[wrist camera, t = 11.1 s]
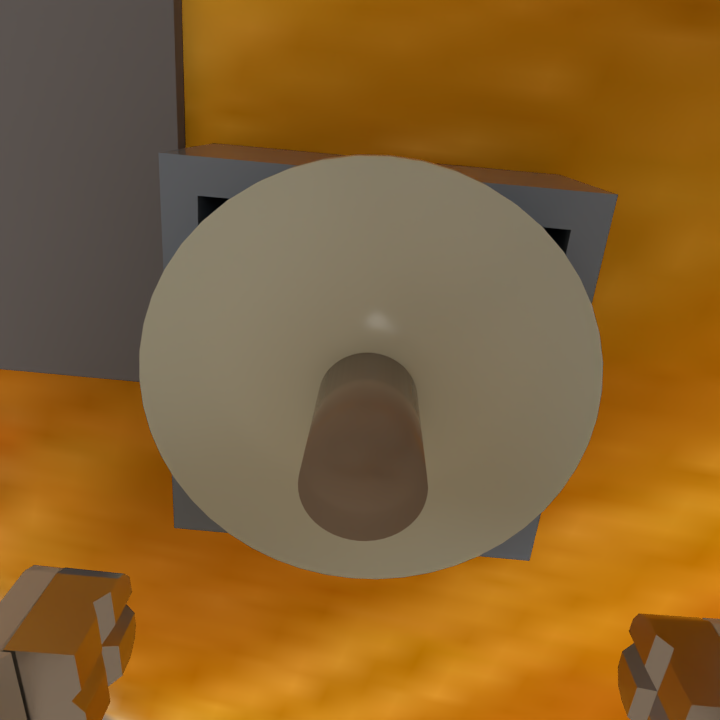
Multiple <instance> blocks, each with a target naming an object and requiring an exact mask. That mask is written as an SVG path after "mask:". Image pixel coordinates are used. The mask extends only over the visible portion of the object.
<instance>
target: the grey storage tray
mask: <svg viewBox="0 0 720 720" xmlns="http://www.w3.org/2000/svg"><path fill="white" fill-rule="evenodd" d="M338 156H347V155H337V154H326V153H315V152H304V151H293V150H282V149H271V148H260V147H249V146H238V145H227V144H216V143H213V144H207V145H201V146H195V147H189V148H183V149H177V150H172V151H166V152H160V153H159V177H160V201H161V224H162V248H163V271H164V269H165V268H166V266H167V265H168V263H169V262H170V260H171V259H172V257H173V256H174V254H175V253H176V251H177V250H178V248H179V247H180V245H181V244H182V243H183V242H184V241H185V240H186V238H187V237H188V236H189V235H190V234H191V233H192V232H193V231H194V230H195V229H196V227H197V226H198V225H199V224H200V223H201V222H202V221H203V220H204V219H205V218H207V217H208V216H209V215H210V214H211V213H213V212H214V211H215V210H216V209H217V208H219V207H220V206H221V205H222V204H224V203H225V202H226V201H227V200H229V199H230V198H232V197H234V196H235V195H237V194H239V193H240V192H242V191H244V190H245V189H247V188H249V187H250V186H252V185H254V184H255V183H257V182H259V181H261V180H263V179H265V178H267V177H270V176H272V175H274V174H277V173H279V172H281V171H284V170H286V169H288V168H291V167H293V166H297V165H301V164H305V163H308V162H312V161H316V160H319V159H323V158H330V157H338ZM438 165H441V166H444V167H448V168H451V169H454V170H456V171H459V172H461V173H463V174H465V175H467V176H469V177H472V178H474V179H476V180H478V181H480V182H482V183H484V184H486V185H487V186H489V187H490V188H492V189H493V190H495V191H497V192H498V193H500V194H501V195H503V196H504V197H506V198H507V199H509V200H510V201H512V202H513V203H515V204H516V205H518V206H519V207H520V208H521V209H522V210H523V211H525V212H526V213H527V214H528V215H529V216H530V217H532V218H533V219H534V220H535V221H536V222H537V223H538V224H540V225H541V226H542V227H543V228H544V229H545V231H546V232H547V233H548V234H549V235H550V236H551V238H552V239H553V240H554V241H555V242H556V243H557V245H558V246H559V247H560V248H561V249H562V250H563V252H564V253H565V255H566V256H567V258H568V260H569V261H570V263H571V264H572V266H573V268H574V269H575V271H576V272H577V274H578V276H579V277H580V279H581V281H582V284H583V286H584V288H585V291H586V293H587V295H588V297H589V300H590V302H591V304H592V300H593V296H594V292H595V288H596V283H597V279H598V275H599V271H600V267H601V263H602V259H603V255H604V250H605V246H606V242H607V238H608V234H609V230H610V226H611V222H612V217H613V213H614V209H615V205H616V201H617V197H618V195H617V194H614V193H612V192H609V191H606V190H603V189H600V188H597V187H594V186H591V185H588V184H585V183H582V182H579V181H577V180H574V179H571V178H568V177H565V176H562V175H556V174H545V173H534V172H523V171H512V170H501V169H490V168H479V167H468V166H457V165H446V164H438ZM172 484H173V507H174V528H182V529H192V530H203V531H214V532H225V533H228V532H227V531H225V530H224V529H223V528H222V527H220V526H219V525H218V524H217V523H215V522H214V521H213V520H212V519H210V518H209V517H208V516H207V515H206V514H205V513H204V512H203V511H202V510H201V509H200V508H199V507H198V506H197V505H196V504H195V503H194V502H193V501H192V500H191V499H190V497H189V496H188V495H187V494H186V492H185V491H184V490H183V488H182V487H181V486H180V485H179V483H178V482H177V481H176V480H175V478H174V477H173V475H172ZM540 515H541V513H540V514H539V515H538V516H537V517H536V518H535V519H534V520H533V521H531V522H530V523H529V524H528V525H527V526H526V527H525V528H524V529H522V530H521V531H519V532H518V533H516V534H515V535H513V536H512V537H511V538H509V539H508V540H506V541H505V542H503V543H502V544H500V545H498V546H496V547H495V548H493V549H491V550H489V551H487V552H485V553H483V554H482V555H480V556H484V557H495V558H506V559H516V560H527V561H529V560H530V556H531V552H532V548H533V544H534V540H535V535H536V531H537V527H538V523H539V519H540Z"/></svg>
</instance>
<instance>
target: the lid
mask: <svg viewBox="0 0 720 720" xmlns="http://www.w3.org/2000/svg"><path fill="white" fill-rule="evenodd" d="M602 376H603V359H602V350H601V341H600V333H599V330H598V326H597V322H596V318H595V315H594V311H593V307H592V304H591V302H590V300H589V297H588V295H587V293H586V291H585V288H584V286H583V284H582V281H581V279H580V277H579V276H578V274H577V272H576V271H575V269H574V268H573V266H572V264H571V263H570V261H569V260H568V258H567V256H566V255H565V253H564V252H563V250H562V249H561V248H560V247H559V246H558V245H557V243H556V242H555V241H554V240H553V239H552V238H551V236H550V235H549V234H548V233H547V232H546V231H545V229H544V228H543V227H542V226H541V225H540V224H538V223H537V222H536V221H535V220H534V219H533V218H532V217H530V216H529V215H528V214H527V213H526V212H525V211H523V210H522V209H521V208H520V207H519V206H518V205H516V204H515V203H513V202H512V201H510V200H509V199H507V198H506V197H504V196H503V195H501V194H500V193H498V192H497V191H495V190H493V189H492V188H490V187H489V186H487V185H486V184H484V183H482V182H480V181H478V180H476V179H474V178H472V177H469V176H467V175H465V174H463V173H461V172H459V171H456V170H454V169H451V168H448V167H444V166H441V165H438V164H435V163H431V162H428V161H425V160H420V159H414V158H407V157H401V156H394V155H372V154H355V155H347V156H338V157H330V158H323V159H319V160H316V161H312V162H308V163H305V164H301V165H297V166H293V167H291V168H288V169H286V170H284V171H281V172H279V173H277V174H274V175H272V176H270V177H267V178H265V179H263V180H261V181H259V182H257V183H255V184H254V185H252V186H250V187H249V188H247V189H245V190H244V191H242V192H240V193H239V194H237V195H235V196H234V197H232V198H230V199H229V200H227V201H226V202H225V203H224V204H222V205H221V206H220V207H219V208H217V209H216V210H215V211H214V212H213V213H211V214H210V215H209V216H208V217H207V218H205V219H204V220H203V221H202V222H201V223H200V224H199V225H198V226H197V227H196V229H195V230H194V231H193V232H192V233H191V234H190V235H189V236H188V237H187V238H186V240H185V241H184V242H183V243H182V244H181V245H180V247H179V248H178V250H177V251H176V253H175V254H174V256H173V257H172V259H171V260H170V262H169V263H168V265H167V266H166V268H165V269H164V271H163V274H162V276H161V278H160V280H159V282H158V284H157V286H156V288H155V290H154V293H153V295H152V297H151V301H150V304H149V307H148V310H147V314H146V317H145V320H144V324H143V331H142V337H141V344H140V351H139V380H140V387H141V394H142V401H143V407H144V410H145V414H146V417H147V421H148V424H149V428H150V431H151V434H152V436H153V438H154V441H155V443H156V445H157V448H158V450H159V452H160V454H161V456H162V458H163V460H164V461H165V463H166V465H167V467H168V468H169V470H170V472H171V473H172V475H173V477H174V478H175V480H176V481H177V482H178V483H179V485H180V486H181V487H182V488H183V490H184V491H185V492H186V494H187V495H188V496H189V497H190V499H191V500H192V501H193V502H194V503H195V504H196V505H197V506H198V507H199V508H200V509H201V510H202V511H203V512H204V513H205V514H206V515H207V516H208V517H209V518H210V519H212V520H213V521H214V522H215V523H217V524H218V525H219V526H220V527H222V528H223V529H224V530H225V531H227V532H228V533H229V534H231V535H232V536H234V537H235V538H237V539H238V540H240V541H242V542H243V543H245V544H246V545H248V546H250V547H251V548H253V549H255V550H257V551H259V552H261V553H263V554H265V555H267V556H270V557H272V558H274V559H276V560H279V561H281V562H284V563H287V564H290V565H292V566H295V567H298V568H301V569H305V570H309V571H313V572H317V573H321V574H326V575H333V576H340V577H347V578H362V579H385V578H400V577H408V576H414V575H420V574H426V573H431V572H434V571H438V570H441V569H445V568H448V567H452V566H455V565H458V564H460V563H463V562H465V561H468V560H470V559H472V558H475V557H477V556H480V555H482V554H483V553H485V552H487V551H489V550H491V549H493V548H495V547H496V546H498V545H500V544H502V543H503V542H505V541H506V540H508V539H509V538H511V537H512V536H513V535H515V534H516V533H518V532H519V531H521V530H522V529H524V528H525V527H526V526H527V525H528V524H529V523H530V522H531V521H533V520H534V519H535V518H536V517H537V516H538V515H539V514H540V513H542V512H543V511H544V510H545V509H546V507H547V506H548V505H549V504H550V503H551V502H552V501H553V499H554V498H555V497H556V496H557V495H558V494H559V493H560V492H561V490H562V489H563V487H564V486H565V484H566V483H567V481H568V480H569V478H570V477H571V475H572V474H573V473H574V471H575V470H576V468H577V466H578V464H579V462H580V460H581V458H582V456H583V454H584V452H585V450H586V448H587V446H588V444H589V441H590V438H591V435H592V432H593V429H594V426H595V423H596V420H597V415H598V410H599V404H600V399H601V394H602Z"/></svg>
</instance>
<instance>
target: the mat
mask: <svg viewBox="0 0 720 720" xmlns="http://www.w3.org/2000/svg"><path fill="white" fill-rule="evenodd" d="M183 148H185V117H184V78H183V40H182V2H181V0H0V369H6V370H17V371H28V372H39V373H50V374H60V375H71V376H82V377H93V378H104V379H115V380H126V381H136V382H140V380H139V351H140V344H141V337H142V331H143V324H144V320H145V317H146V314H147V310H148V307H149V304H150V301H151V297H152V295H153V293H154V290H155V288H156V286H157V284H158V282H159V280H160V278H161V276H162V274H163V248H162V224H161V201H160V177H159V153H160V152H166V151H172V150H177V149H183Z"/></svg>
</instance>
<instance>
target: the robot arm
mask: <svg viewBox="0 0 720 720" xmlns="http://www.w3.org/2000/svg"><path fill="white" fill-rule="evenodd" d="M131 593H132V589H131V583H130V577H129V576H128V575H126V574H121V573H111V572H102V571H92V570H83V569H73V568H57V567H48V566H38V565H34V566H32V567H30V568H29V569H27V570H25V571H24V572H23V573H22V575H21V576H20V577H19V579H18V580H17V581H16V582H15V584H14V585H13V586H12V588H11V589H10V590H9V591H8V593H7V594H6V595H5V597H4V598H3V599H2V600H1V602H0V720H102V719H103V716H104V714H105V712H106V710H107V708H108V706H109V704H110V696H109V689H108V686H109V685H111V684H112V683H113V682H114V681H116V680H117V679H118V678H120V677H121V676H122V675H123V673H124V671H125V669H126V666H127V664H128V662H129V659H130V656H131V652H132V648H133V644H134V640H135V629H136V622H135V613H134V612H133V611H132V610H131V609H130V608H129V607H128V606H127V604H126V603H127V601H128V599H129V597H130V595H131ZM629 632H630V635H631V637H632V639H633V641H634V643H633V644H632V645H631V646H629V647H628V648H626V649H625V650H624V651H622V654H621V658H620V661H619V665H618V687H619V691H620V696H621V700H622V703H623V706H624V709H625V711H626V714H627V716H628V717H629V718H630V719H631V720H720V619H713V618H702V619H701V618H697V617H682V616H668V615H653V614H638V615H637V616H636V617H635V618H634V619H633V621H632V624H631V627H630V630H629Z"/></svg>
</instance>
